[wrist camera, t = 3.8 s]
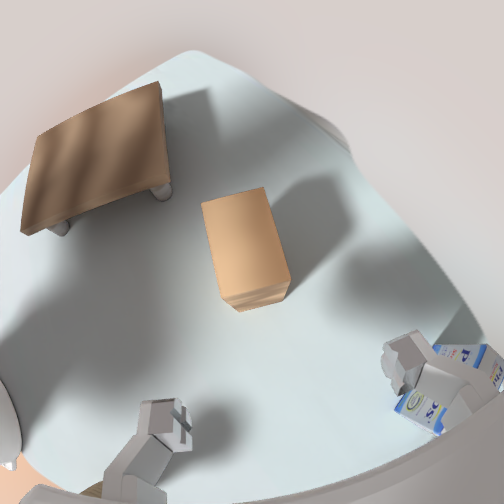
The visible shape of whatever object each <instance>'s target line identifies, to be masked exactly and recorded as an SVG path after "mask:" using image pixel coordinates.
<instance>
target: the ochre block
mask: <svg viewBox="0 0 504 504" xmlns="http://www.w3.org/2000/svg"><path fill="white" fill-rule="evenodd" d="M201 207H202V212H203V217H204V221H205V226H206V231H207V236H208V241H209V245H210V250H211V255H212V259H213V264H214V268H215V273H216V277H217V282H218V286H219V290H220V295H221V298H222V299H223V300H224V301H226V302H227V303H228V304H229V305H231V306H232V307H233V308H234V309H235V310H237V311H238V312H243V311H247V310H251V309H255V308H258V307H262V306H266V305H270V304H274V303H277V302H281V301H283V299H284V296H285V294H286V291H287V289H288V287H289V284H290V282H291V276H290V273H289V269H288V266H287V263H286V259H285V256H284V252H283V249H282V246H281V242H280V239H279V236H278V232H277V229H276V226H275V223H274V219H273V216H272V213H271V210H270V206H269V203H268V200H267V197H266V194H265V190H264V187H262V188H257V189H253V190H249V191H245V192H241V193H237V194H233V195H229V196H226V197H222V198H218V199H214V200H210V201H207V202H203V203H201Z"/></svg>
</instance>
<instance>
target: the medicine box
mask: <svg viewBox="0 0 504 504" xmlns="http://www.w3.org/2000/svg"><path fill="white" fill-rule="evenodd" d="M433 350H434V351H435V352H436V354H437V355H438V356H439V355H443V356H446V357H448V358H451V359H453V360H456V361H458V362H461V363H464V364H466V365H469V366H471V367H474V368H476V369H479V370H481V371H484V372H485V373H486V374H487V376H488V377H489V378H490V380H491V381H492V382H493V384H494V385H495V386H496V388H497V389H498V390H499V388H500V386H501V383H502V381H503V379H504V359H503V358H501V356H499V354H498V353H497V352H496V351H495V350H493V349H492V348H491V347H490V346H489V345H488V344H435V345H434V346H433ZM394 411H395V412H396V413H398V414H400V415H401V416H403V417H404V418H406V419H407V420H409V421H410V422H412V423H413V424H415V425H417V426H418V427H420V428H422V429H424V430H426V431H428V432H430V433H432V434H434V435H435V436H437V437H438V436H440V435H442V434H443V433H445V432H447V431H446V430H445V428H444V426H443V424H442V422H441V419H442V417H443V415H444V414H445V412H446V411H447V408H445V407H443V406H441V405H440V404H438V403H436V402H435V401H433V400H431V399H429V398H428V397H426V396H424V395H423V394H421V393H419V392H418V391H416V390H415V389H413V390H411V391H409V392H407V393H405V395H404V396H403V398H402V399H401V401H400V402H399V404H398V405H397V407H396V408H395V410H394Z"/></svg>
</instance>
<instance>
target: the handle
mask: <svg viewBox="0 0 504 504" xmlns="http://www.w3.org/2000/svg"><path fill="white" fill-rule="evenodd" d="M102 486H103V481H101V482H98V483H96V484H94V485H92V486H91V487H89V488H87V489H86V490H84V491H83V492H81V493H80V495H85V496H90V497H95V498H100V499H101V496H102Z"/></svg>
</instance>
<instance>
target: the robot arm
mask: <svg viewBox="0 0 504 504" xmlns="http://www.w3.org/2000/svg"><path fill="white" fill-rule="evenodd" d="M383 351H384V354H383V355H382V356H381V366H382V370H383V372H384V374H385V376H386V377H388V378H390V379H392V380H391V386H392V388H393V390H394V392H395V394H396V395H397V397H398V396H400V395H402V394H405V393H407V392H409V391H411V390H413V389H415V390H416V391H418V392H419V393H421V394H423V395H424V396H426V397H428V398H429V399H431V400H433V401H435V402H436V403H438V404H440V405H441V406H443V407H445V408H447V411H446V412H445V414H444V415H443V417H442V419H441V422H442V424H443V426H444V428H445V430H446V431H447V432H445V433H443V434H442V435H440V436H438V437H437V438H435V439H433V440H431V441H430V442H428V443H426V444H424V445H422V446H421V447H419V448H417V449H415V450H413V451H411V452H409V453H407V454H405V455H403V456H401V457H399V458H397V459H395V460H392V461H390V462H388V463H386V464H383V465H381V466H379V467H376V468H374V469H371V470H369V471H366V472H364V473H361V474H358V475H356V476H353V477H350V478H347V479H344V480H341V481H338V482H335V483H332V484H329V485H325V486H322V487H318V488H315V489H311V490H307V491H303V492H299V493H295V494H290V495H285V496H281V497H275V498H270V499H264V500H258V501H251V502H243V503H234V504H504V390H503V391H502V392H501V393H500V392H499V391H498V389H497V388H496V386H495V385H494V384H493V382H492V381H491V380H490V378H489V377H488V376H487V374H486V373H485V372H484V371H481V370H479V369H476V368H474V367H471V366H469V365H466V364H464V363H461V362H458V361H456V360H453V359H451V358H448V357H446V356H443V355H439V356H438V355H437V354H436V352H435V351H434V350H433V348H432V347H431V346H430V344H429V343H428V342H427V341H426V339H425V338H424V337H423V335H422V334H421V333H420V332H419V331H418V330H414V331H412V332H409V333H407V334H404V335H402V336H400V337H397V338H395V339H393V340H391V341H388V342H386V343H384V345H383ZM181 405H182V402H181V401H180V399H179V398H170V399H160V400H148V401H142V403H141V405H140V411H139V418H138V426H137V435H133V436H132V438H131V439H130V440H129V442H128V443H127V444H126V445H125V447H124V448H123V449H122V450H121V452H120V453H119V454H118V455H117V457H116V458H115V459H114V460H113V462H112V463H111V464H110V465H109V466H108V468H107V469H106V470H105V471H104V477H103V486H102V496H101V499H100V498H95V497H90V496H85V495H80V494H76V493H72V492H68V491H64V490H61V489H57V488H54V487H50V486H47V485H44V484H38V485H36V486H35V487H33V488H32V489H31V490H30V491H29V492H28V493H27V494H26V495H25V496H24V497H23V498H22V499H21V501H20V502H19V504H167V493H166V492H165V491H163V490H161V489H159V488H157V487H155V485H156V483H157V482H158V480H159V478H160V476H161V475H162V473H163V471H164V470H165V468H166V466H167V464H168V463H169V461H170V459H171V457H172V456H173V454H174V453H173V452H185V451H192V436H191V435H190V434H189V431H190V430H191V428H192V420H191V415H190V413H189V411H188V409H187V408H186V407H184V406H181ZM21 446H22V439H21V431H20V426H19V422H18V419H17V415H16V412H15V409H14V407H13V404H12V401H11V399H10V397H9V395H8V393H7V391H6V389H5V387H4V385H3V384H2V382H1V380H0V465H2V466H4V467H5V468H7V469H8V470H10V471H14V470H16V459H17V457H18V456H19V454H20V452H21Z"/></svg>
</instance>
